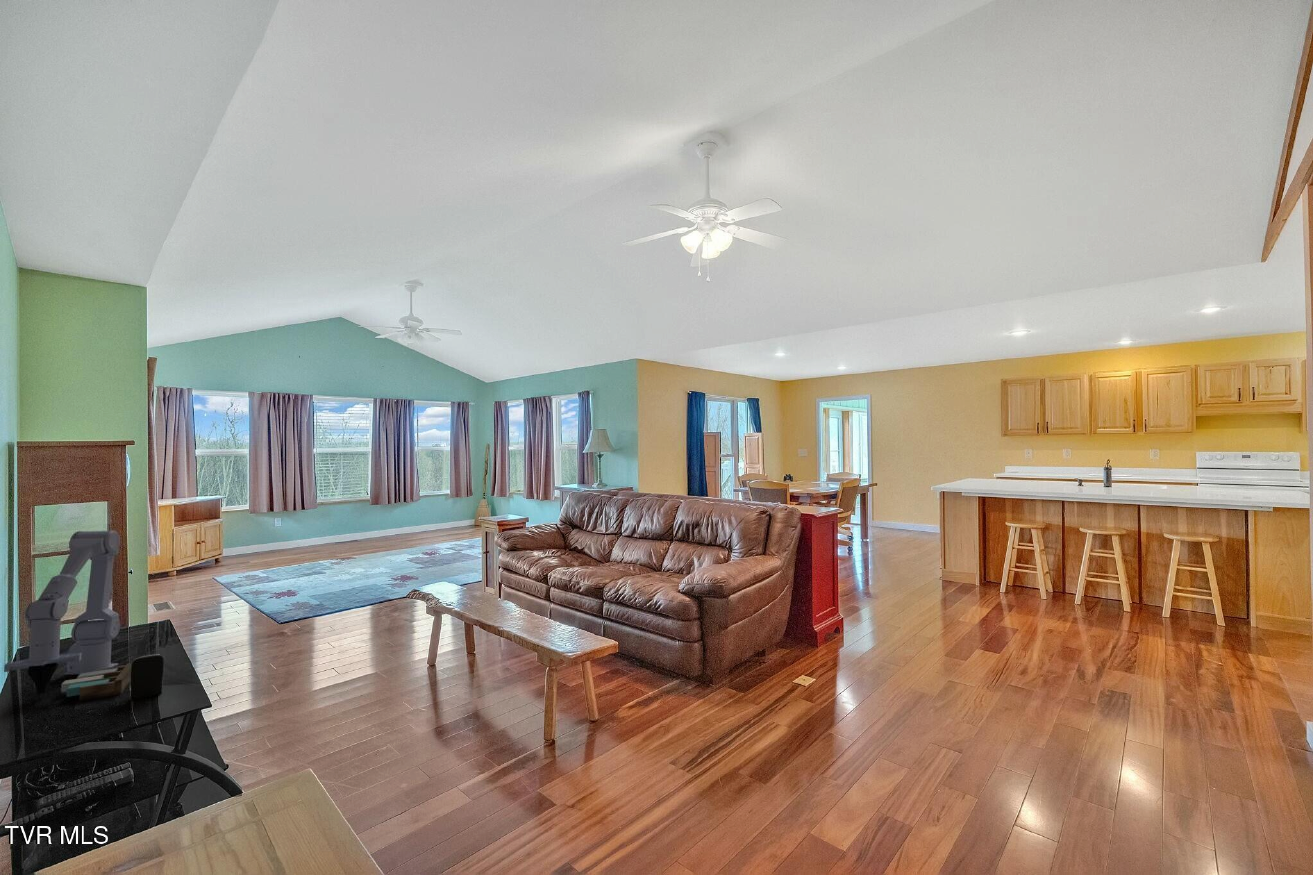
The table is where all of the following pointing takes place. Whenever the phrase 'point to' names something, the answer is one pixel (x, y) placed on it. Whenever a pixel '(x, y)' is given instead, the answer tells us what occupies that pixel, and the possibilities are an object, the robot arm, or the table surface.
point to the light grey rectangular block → (84, 675)
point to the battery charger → (146, 676)
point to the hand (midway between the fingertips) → (42, 692)
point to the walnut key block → (107, 689)
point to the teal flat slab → (75, 689)
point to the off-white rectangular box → (78, 682)
